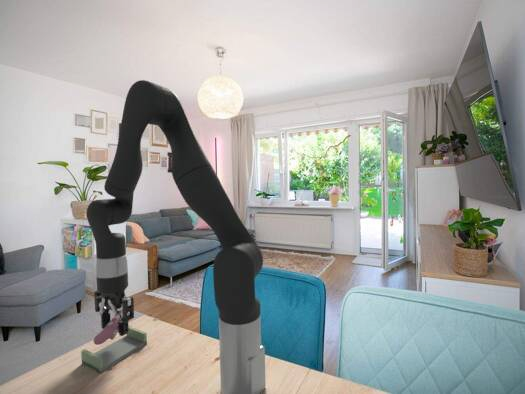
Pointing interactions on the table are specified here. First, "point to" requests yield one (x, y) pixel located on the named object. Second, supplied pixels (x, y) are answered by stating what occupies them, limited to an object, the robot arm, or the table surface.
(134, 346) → the tray
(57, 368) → the table surface
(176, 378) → the table surface
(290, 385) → the table surface
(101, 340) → the video game controller
